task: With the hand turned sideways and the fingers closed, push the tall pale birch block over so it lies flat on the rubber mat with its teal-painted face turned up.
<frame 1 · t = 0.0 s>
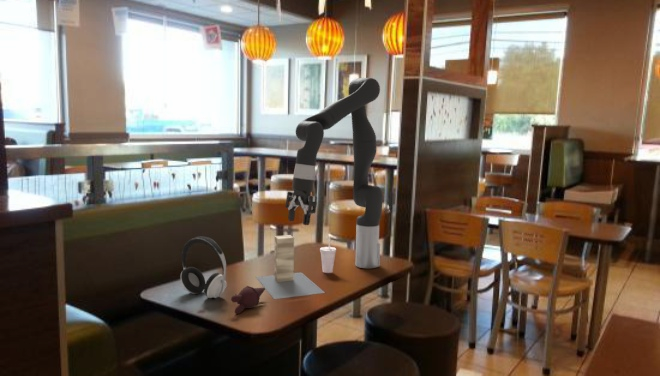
hand: (298, 222, 175), 22 cm above the table, tool pointing down, fingers open, 8 cm apart
headphones: (203, 296, 164), on the table
mat: (288, 286, 175), on the table
maroon rounded piece: (249, 307, 155), on the table
birch block: (283, 279, 180), point 1 cm above the table, touching mat
smoothie: (327, 273, 191), on the table
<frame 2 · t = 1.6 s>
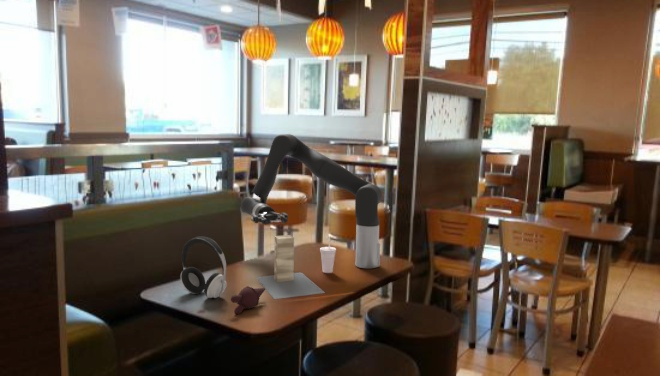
hand: (275, 221, 187), 20 cm above the table, tool horizontal, fingers open, 7 cm apart
nothing on the table moved.
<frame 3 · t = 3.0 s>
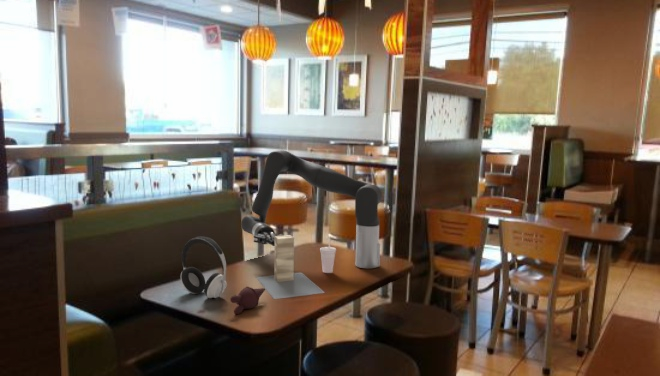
hand: (275, 243, 188), 12 cm above the table, tool horizontal, fingers closed
nothing on the table moved.
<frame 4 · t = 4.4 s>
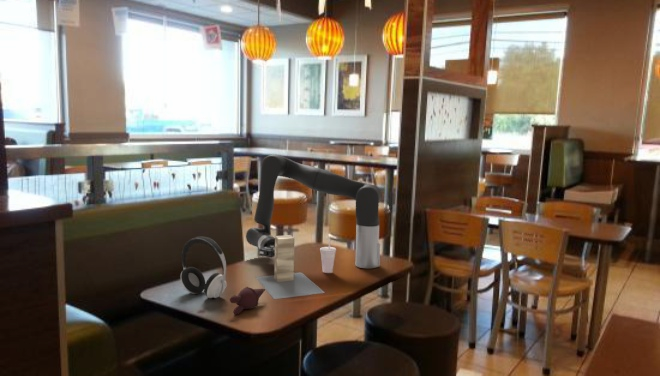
hand: (282, 256, 181), 9 cm above the table, tool horizontal, fingers closed
birch block: (283, 279, 180), point 1 cm above the table, touching gripper, mat
everything else where it was.
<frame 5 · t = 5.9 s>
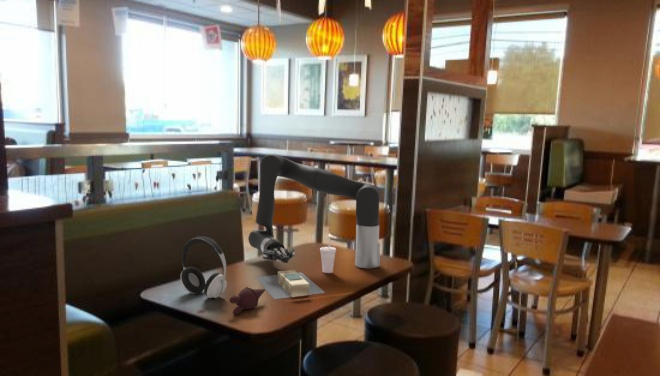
hand: (286, 260, 177), 9 cm above the table, tool horizontal, fingers closed
birch block: (285, 276, 178), point 3 cm above the table, tilted 90°, touching mat
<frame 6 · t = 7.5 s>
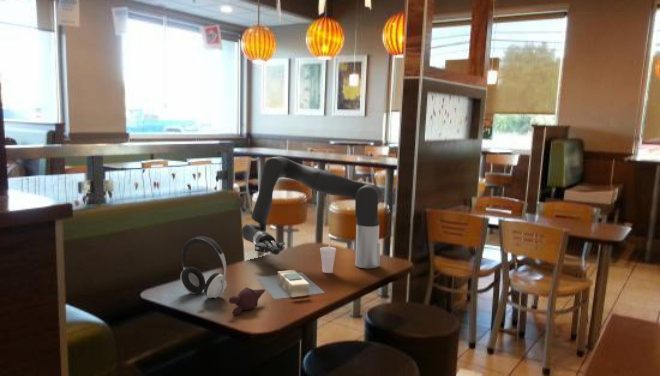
hand: (276, 252, 187), 9 cm above the table, tool horizontal, fingers closed
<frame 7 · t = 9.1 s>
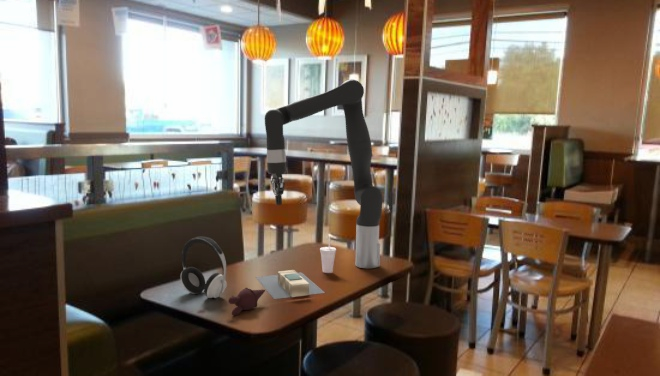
hand: (278, 204, 195), 25 cm above the table, tool pointing down, fingers closed
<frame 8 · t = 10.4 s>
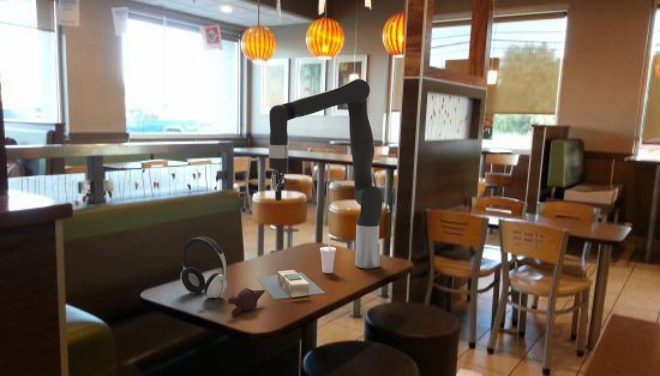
hand: (278, 200, 194), 27 cm above the table, tool pointing down, fingers closed
at the end: birch block tilted 90°; birch block inside the target area (0.4 cm from its centre), point 2.6 cm above the table; the gripper is holding nothing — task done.
